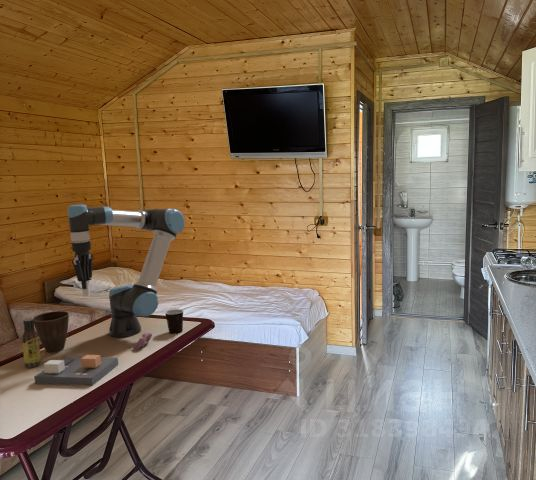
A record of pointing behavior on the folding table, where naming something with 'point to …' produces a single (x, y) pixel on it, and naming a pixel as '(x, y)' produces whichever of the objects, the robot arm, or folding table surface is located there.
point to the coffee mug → (174, 321)
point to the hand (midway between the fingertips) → (86, 295)
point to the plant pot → (52, 330)
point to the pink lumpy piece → (143, 340)
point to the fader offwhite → (54, 366)
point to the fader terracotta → (91, 361)
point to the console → (77, 372)
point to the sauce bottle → (30, 344)
